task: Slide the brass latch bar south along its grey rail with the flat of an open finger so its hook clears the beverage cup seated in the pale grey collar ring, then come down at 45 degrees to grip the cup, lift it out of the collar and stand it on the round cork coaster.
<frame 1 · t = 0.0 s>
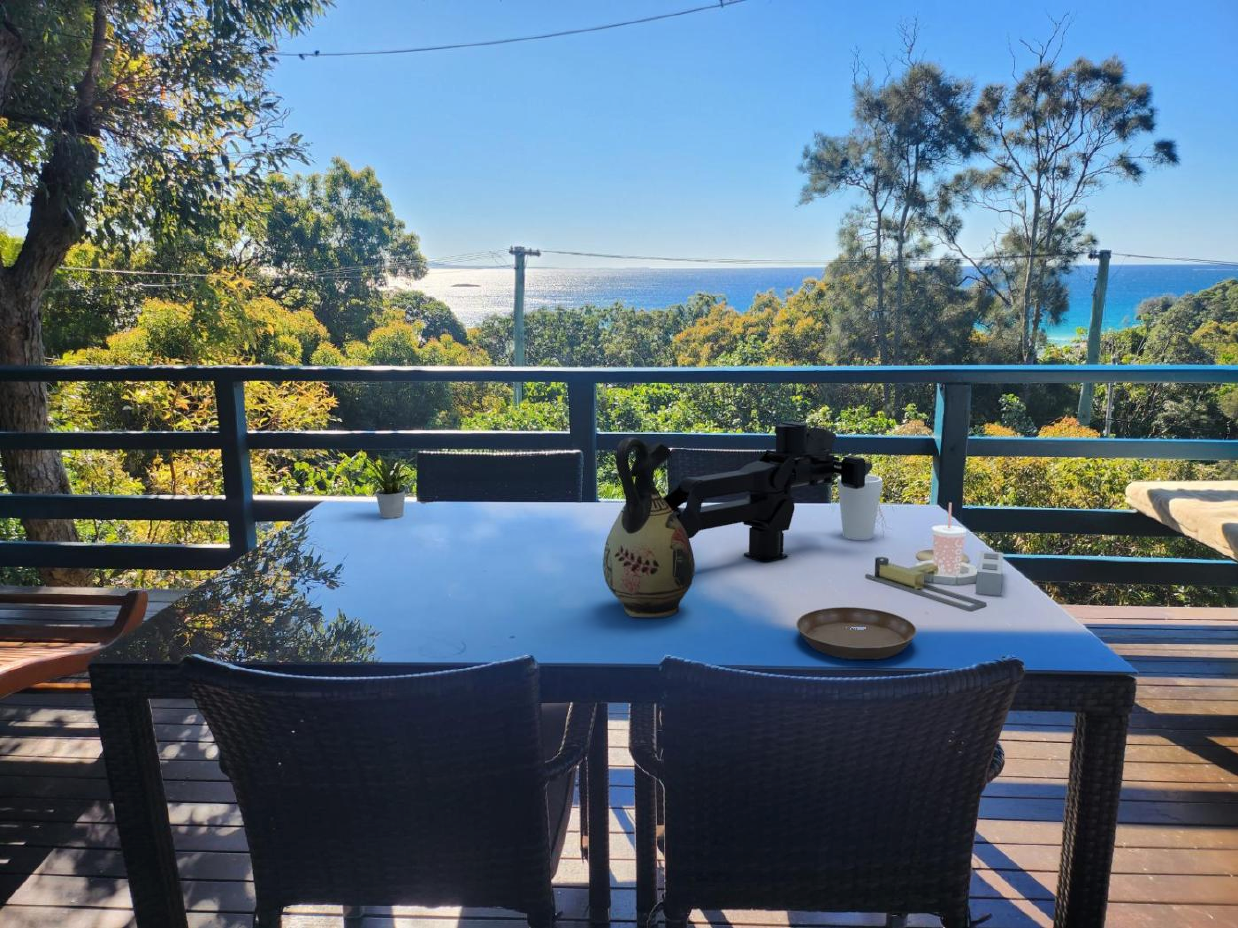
hand: (855, 462, 194), 17 cm above the table, tool horizontal, fingers open, 9 cm apart
foam cup: (857, 537, 198), on the table
latch: (908, 569, 167), point 2 cm above the table, slide at 0.0 cm
ceramic jug: (646, 612, 153), on the table
coaster: (942, 558, 181), on the table
socket: (946, 575, 170), on the table
house plant: (386, 517, 223), on the table
beverage cup: (946, 576, 170), resting in socket
plant saucer: (854, 645, 138), on the table
rail: (921, 590, 161), on the table
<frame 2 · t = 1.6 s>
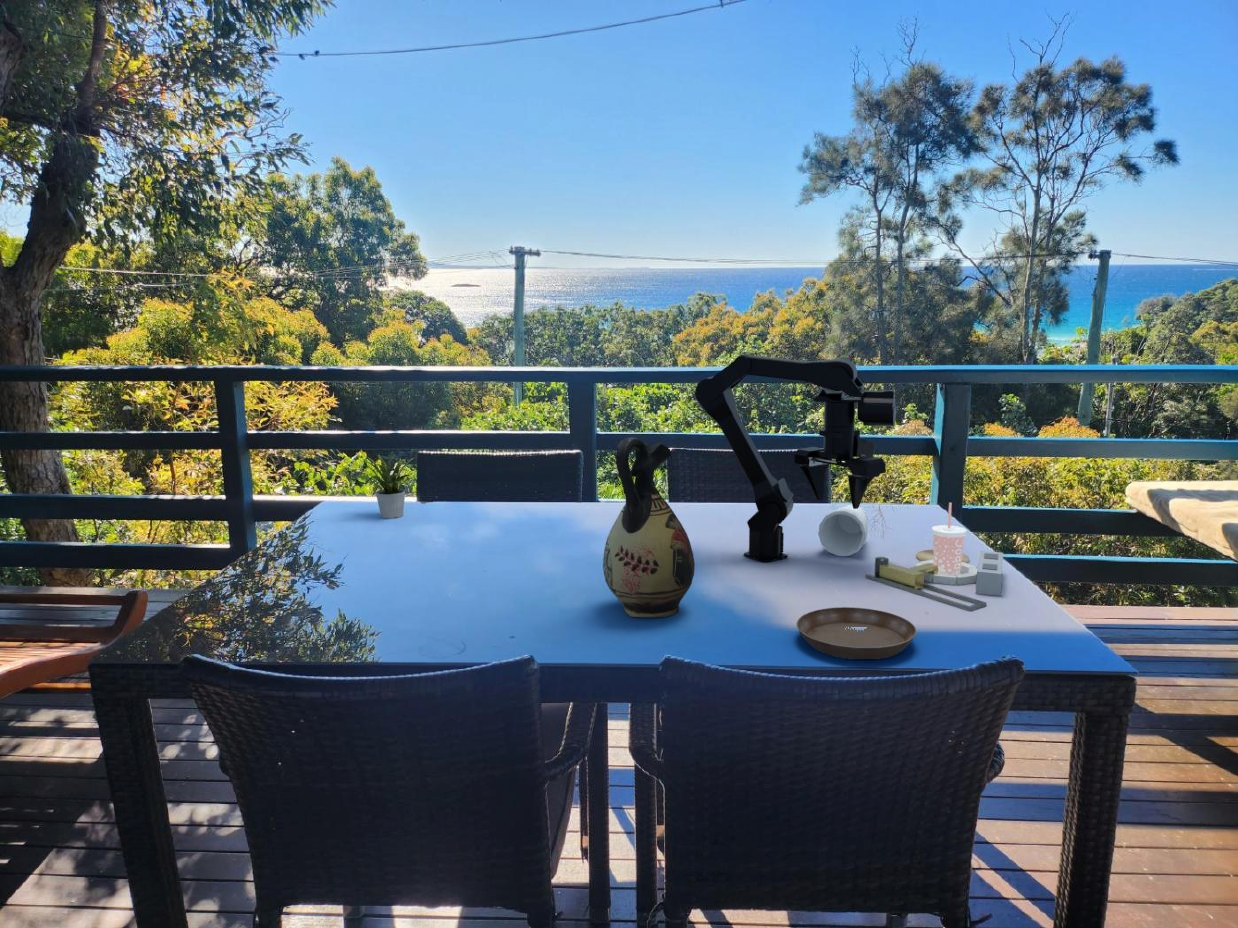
hand: (837, 504, 176), 12 cm above the table, tool pointing down, fingers open, 9 cm apart
foam cup: (852, 518, 194), point 5 cm above the table
everything else where it was.
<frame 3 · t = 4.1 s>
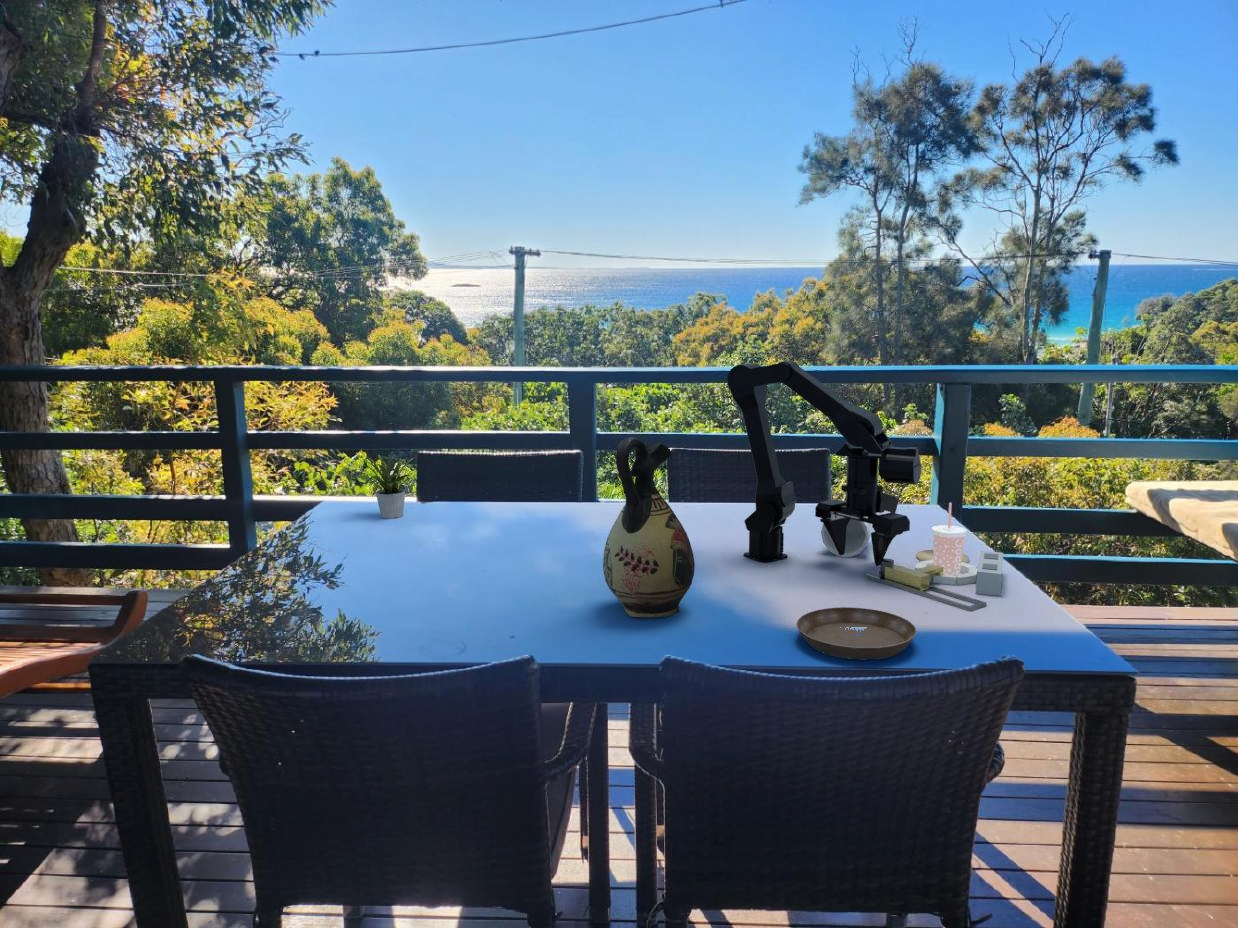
hand: (859, 559, 173), 2 cm above the table, tool pointing down, fingers open, 9 cm apart
latch: (913, 571, 166), point 2 cm above the table, slide at 1.2 cm, touching gripper
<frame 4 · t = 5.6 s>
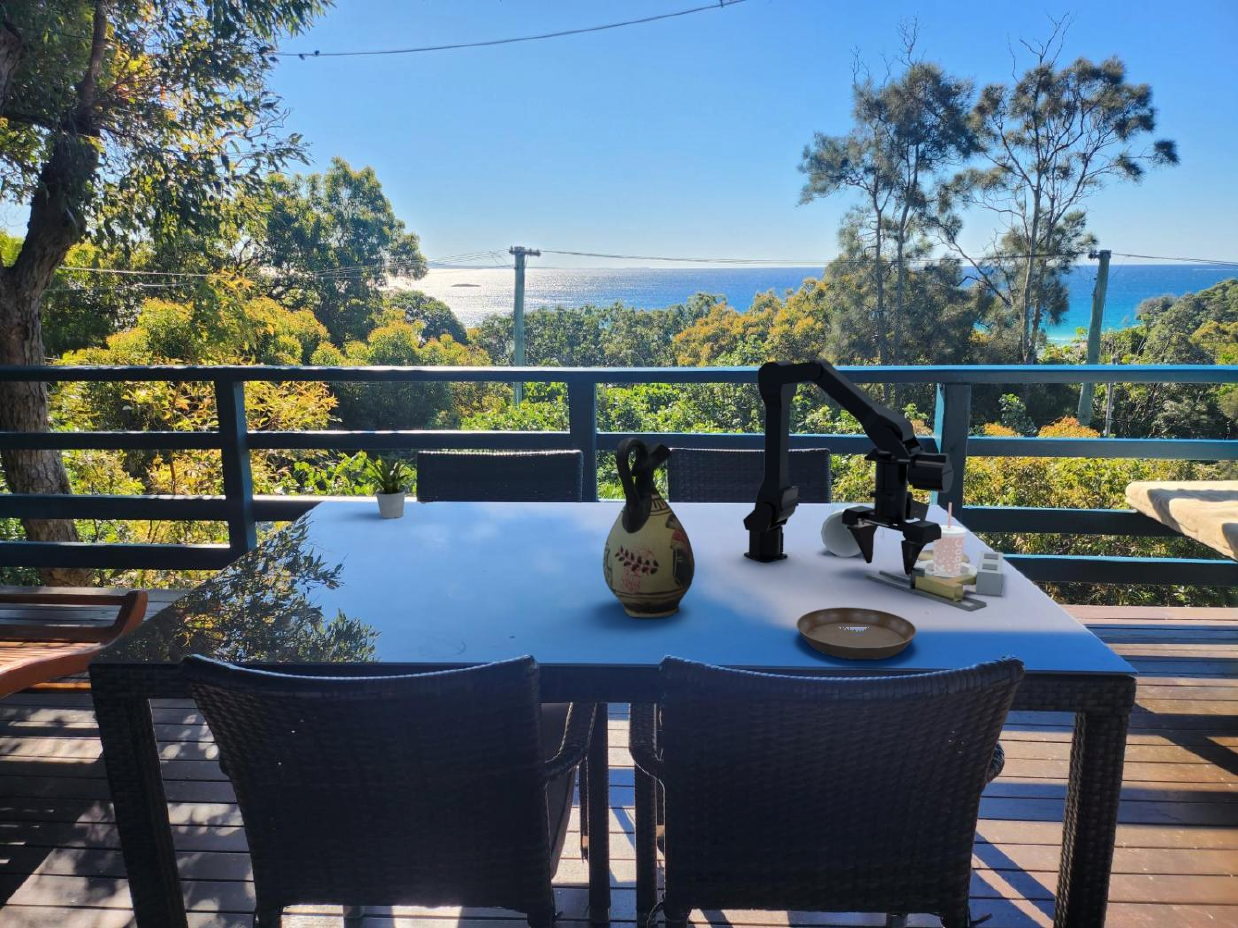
hand: (888, 568, 167), 2 cm above the table, tool pointing down, fingers open, 9 cm apart
latch: (945, 580, 160), point 2 cm above the table, slide at 8.1 cm, touching gripper
everything else where it was.
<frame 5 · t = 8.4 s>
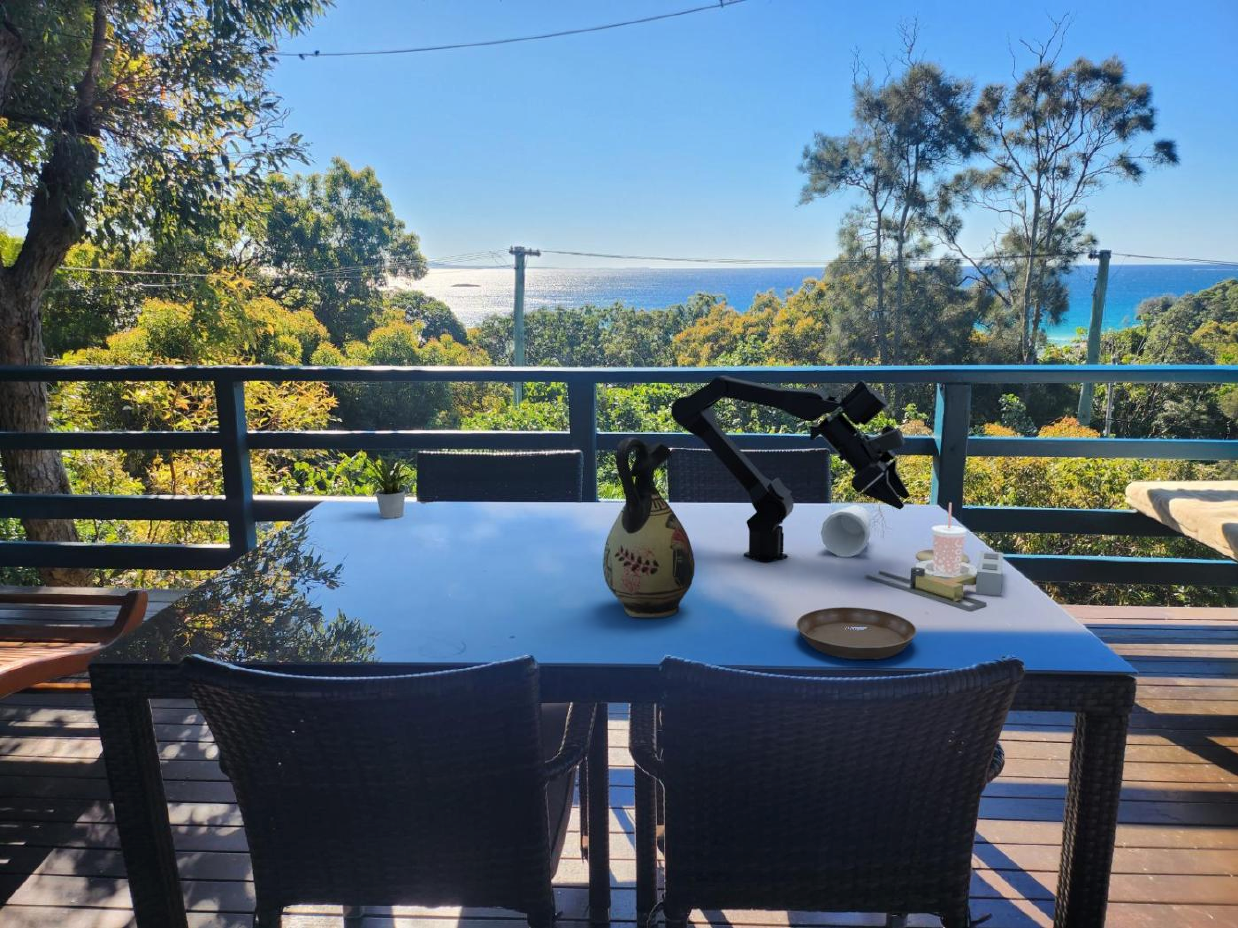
hand: (905, 502, 170), 13 cm above the table, tool tilted 45°, fingers open, 9 cm apart
latch: (945, 580, 160), point 2 cm above the table, slide at 8.2 cm, touching socket
everything else where it was.
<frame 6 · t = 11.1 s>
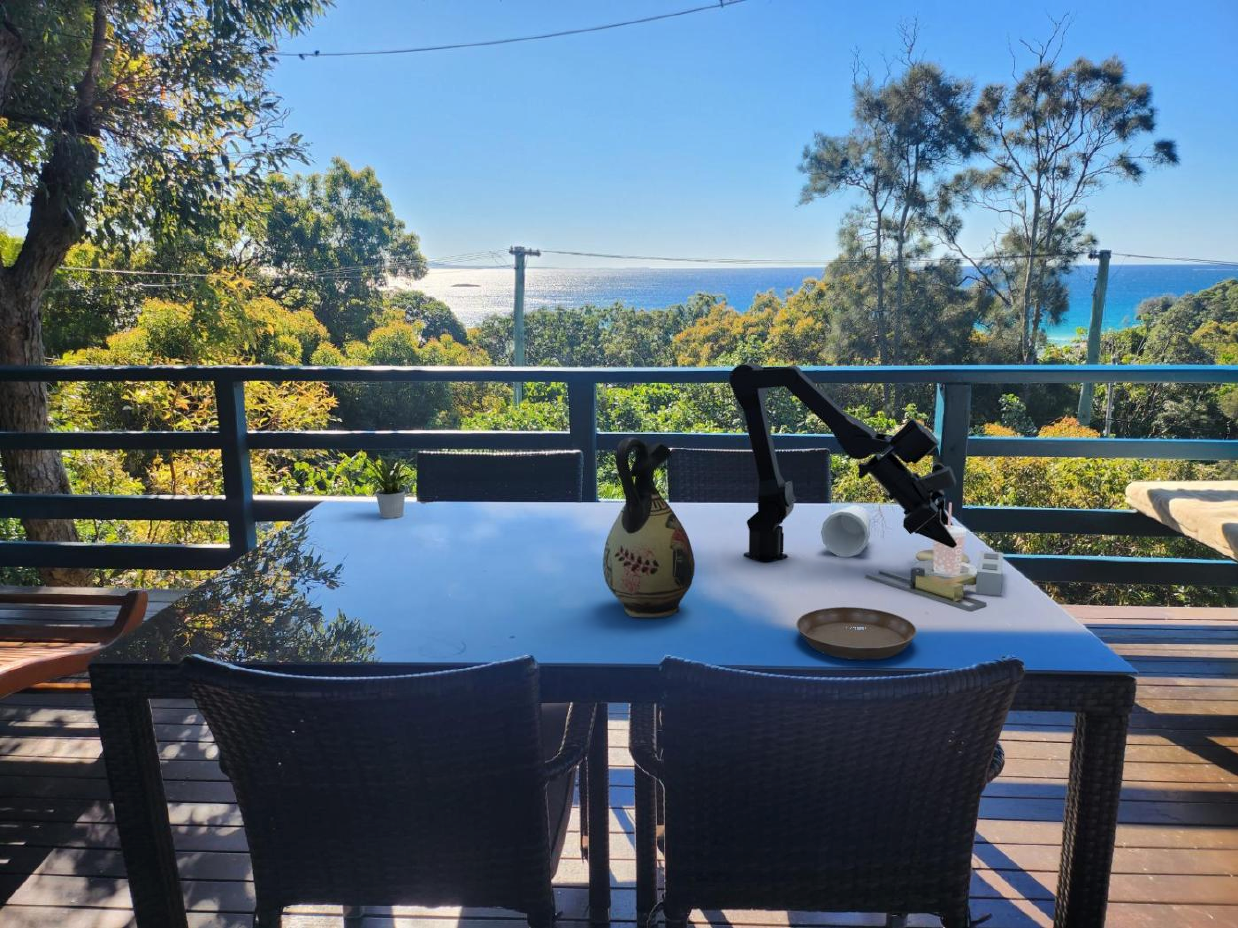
hand: (956, 542, 168), 7 cm above the table, tool tilted 45°, fingers closed on beverage cup, 6 cm apart
beverage cup: (946, 576, 170), resting in socket, touching gripper
everything else where it was.
when the fingers open (8 cm above the table, at t = 14.7 s): beverage cup stays where it is, resting on coaster.
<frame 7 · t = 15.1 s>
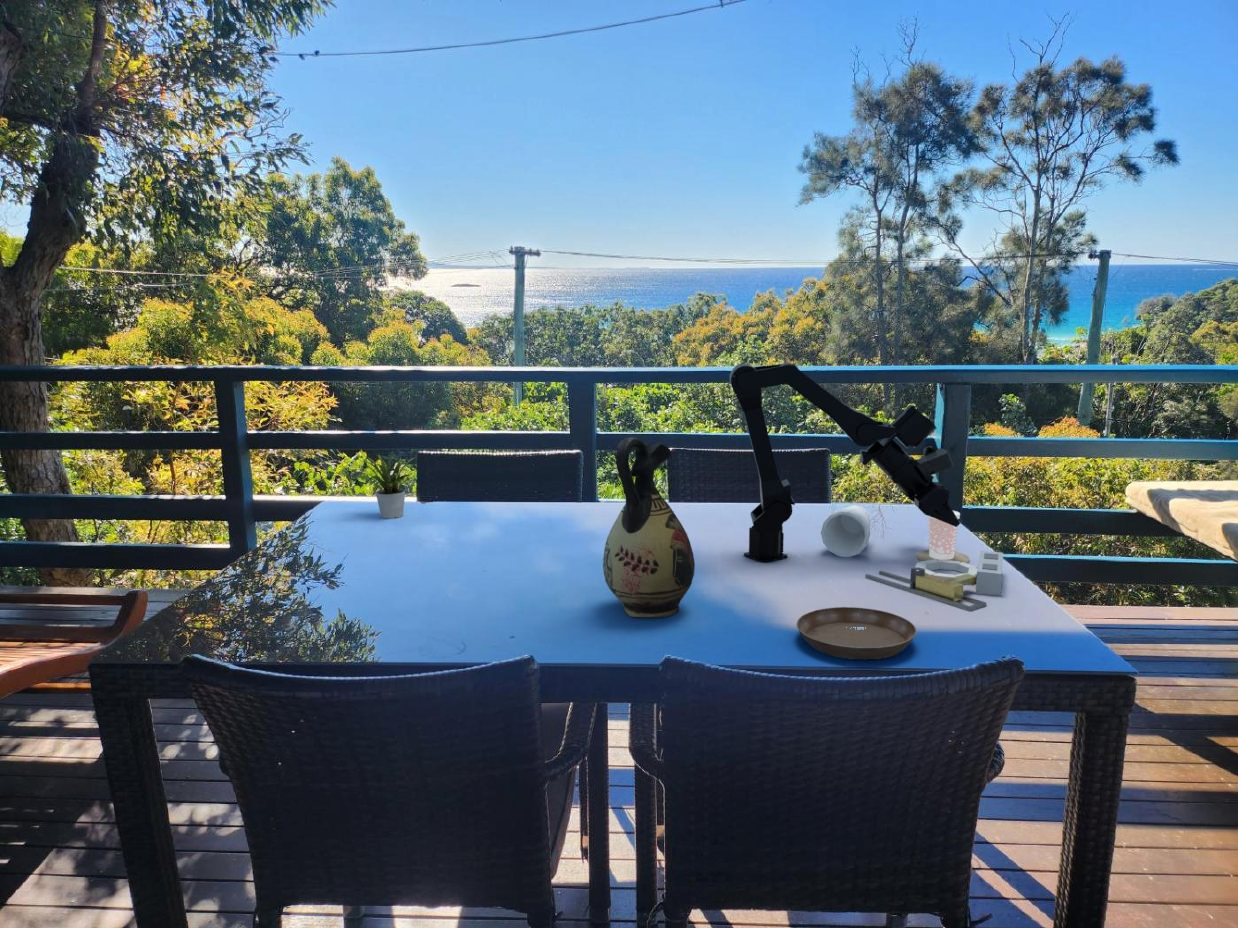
hand: (951, 519, 179), 8 cm above the table, tool tilted 45°, fingers open, 9 cm apart
beverage cup: (941, 557, 181), resting on coaster
everything else where it was.
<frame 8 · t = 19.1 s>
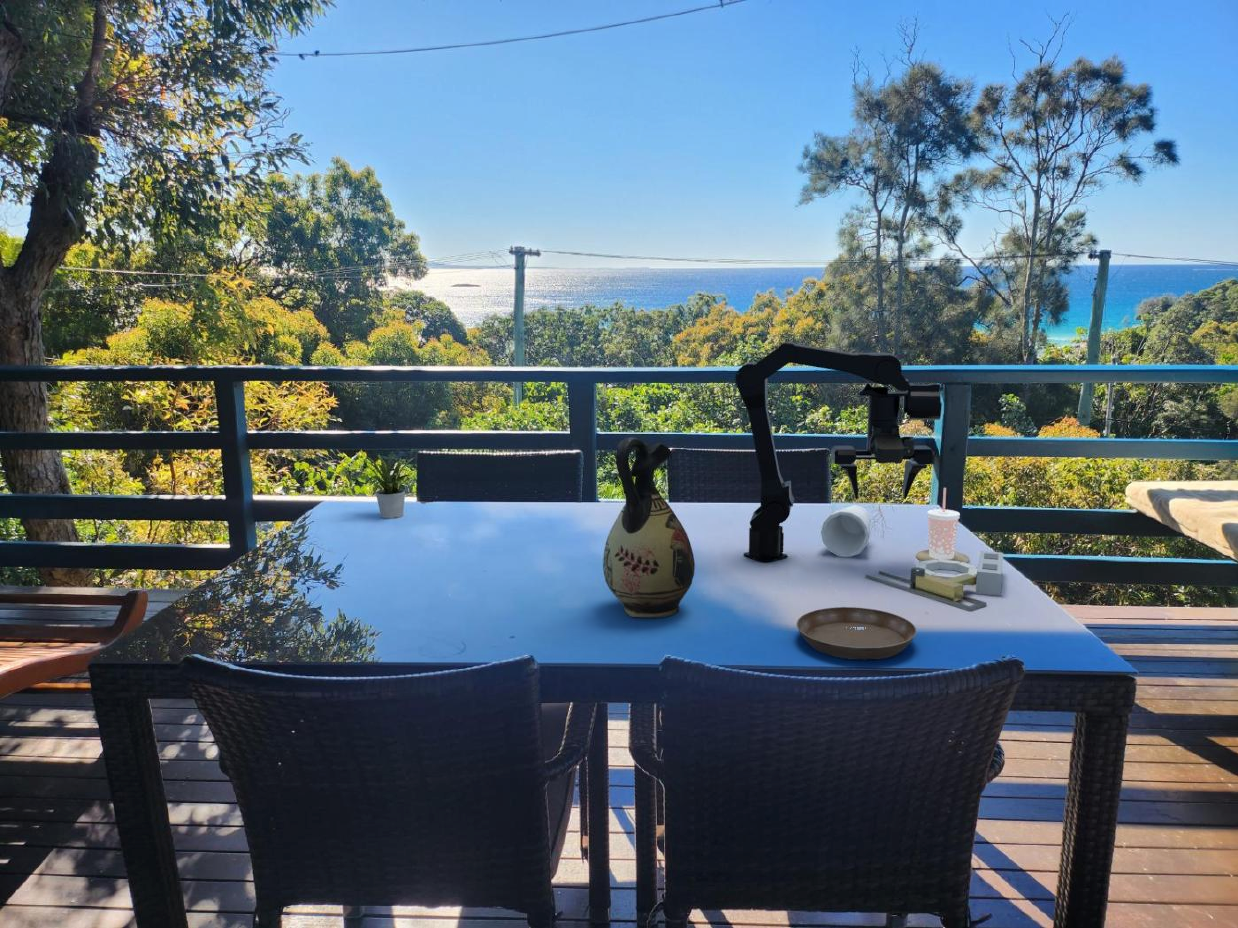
hand: (880, 498, 176), 13 cm above the table, tool pointing down, fingers open, 9 cm apart
nothing on the table moved.
at the end: latch slide at 8.2 cm; beverage cup inside the target area (0.1 cm from its centre), resting on coaster; beverage cup tilted 0° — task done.
